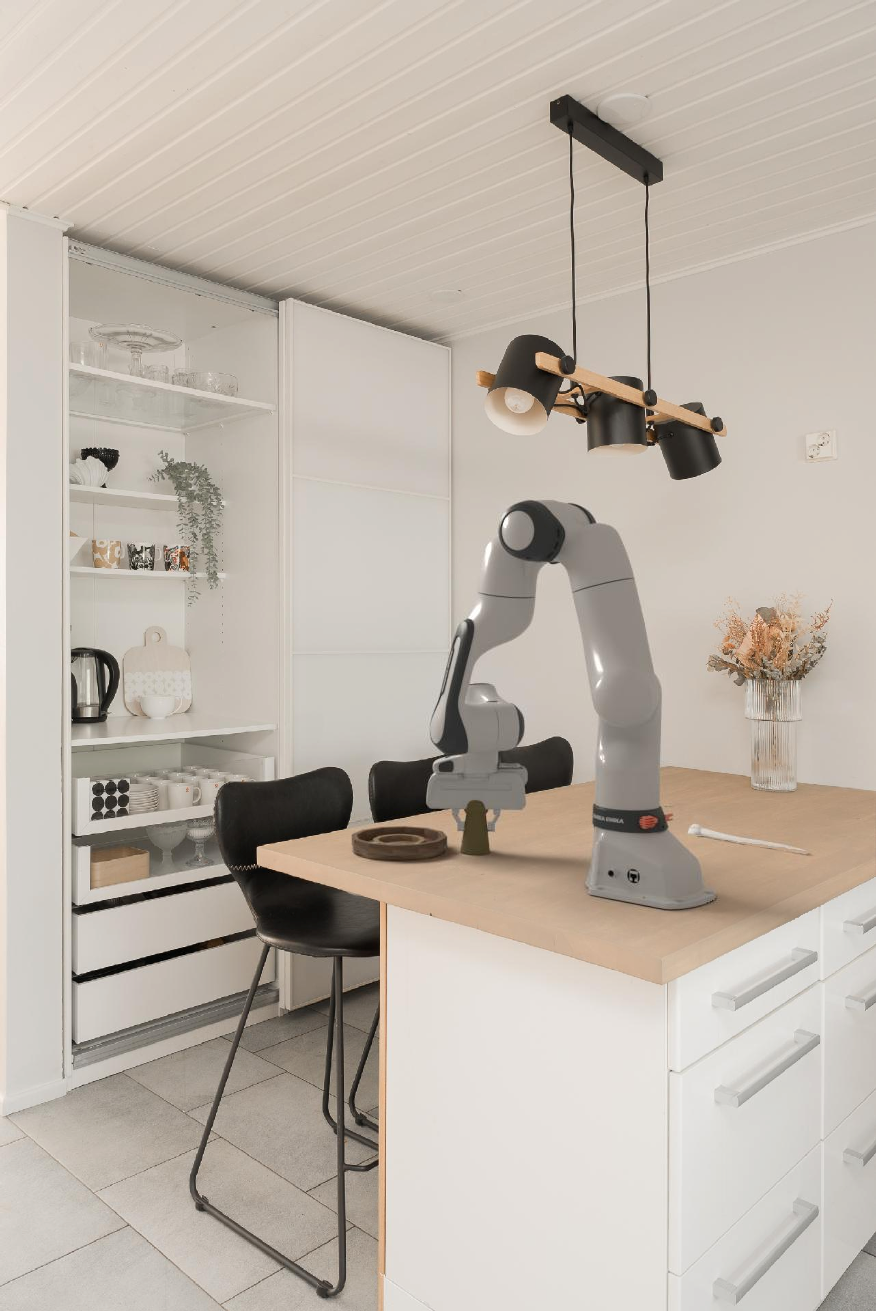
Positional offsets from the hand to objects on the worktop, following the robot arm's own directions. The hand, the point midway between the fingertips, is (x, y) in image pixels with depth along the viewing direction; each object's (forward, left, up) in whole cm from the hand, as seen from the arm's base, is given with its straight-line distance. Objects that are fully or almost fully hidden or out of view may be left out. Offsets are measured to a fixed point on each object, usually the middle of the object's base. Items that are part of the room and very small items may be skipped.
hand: (476, 830), depth 191 cm
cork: (0, 0, -4) cm, 4 cm away
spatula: (-31, -50, -5) cm, 59 cm away
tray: (+11, +11, -4) cm, 16 cm away
